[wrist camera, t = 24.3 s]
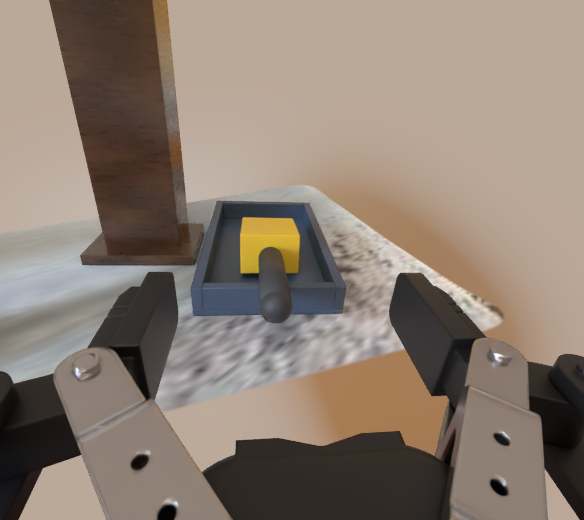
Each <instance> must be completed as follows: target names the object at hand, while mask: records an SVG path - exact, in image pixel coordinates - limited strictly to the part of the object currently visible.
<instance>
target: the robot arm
mask: <svg viewBox="0 0 584 520" xmlns="http://www.w3.org/2000/svg"><path fill="white" fill-rule="evenodd" d="M389 316H390V321H391V324H392V326H393V328H394V329H395V331H396V333H397V335H398V337H399V338H400V340H401V342H402V344H403V346H404V347H405V349H406V351H407V353H408V355H409V356H410V358H411V360H412V362H413V364H414V365H415V367H416V369H417V371H418V373H419V374H420V376H421V378H422V380H423V382H424V383H425V385H426V387H427V389H428V390H429V393H430V394H431V396H446V395H447V397H448V399H449V402H448V404H447V407H446V410H445V415H444V419H443V423H442V427H441V431H440V436H439V440H438V444H437V448H436V453H435V456H433V455H431V454H429V453H427V452H425V451H422V450H420V449H417V448H414V447H411V446H406V445H405V443H404V440H403V438H402V435H401V433H400V431H394V432H378V433H377V432H376V433H361V434H358V435H355V436H352V437H349V438H346V439H343V440H340V441H337V442H335V443H332V444H329V445H326V446H316V445H311V444H306V443H301V442H296V441H290V440H285V439H280V438H273V439H254V440H237V441H236V453H235V455H233V456H230V457H227V458H225V459H223V460H221V461H219V462H217V463H215V464H213V465H212V466H210V467H208V468H207V469H206V470H204V471H203V472H202V473H201V471H200V470H199V468H198V467H197V465H196V463H195V462H194V460H193V459H192V457H191V456H190V454H189V453H188V451H187V450H186V448H185V447H184V445H183V444H182V442H181V441H180V439H179V438H178V436H177V434H176V433H175V431H174V430H173V428H172V427H171V425H170V424H169V422H168V421H167V419H166V418H165V416H164V415H163V413H162V411H161V410H160V408H159V407H158V405H157V404H156V402H155V401H154V400H155V397H156V394H157V390H158V387H159V384H160V380H161V377H162V374H163V371H164V367H165V364H166V361H167V357H168V354H169V351H170V348H171V344H172V341H173V338H174V335H175V331H176V328H177V323H178V306H177V298H176V290H175V282H174V276H173V273H172V272H148V273H147V275H146V277H145V279H144V281H143V282H142V284H141V286H140V287H130V288H129V289H128V290H126V291H125V292H124V293H122V294H121V295H120V296H119V297H118V299H117V300H116V302H115V304H114V305H113V309H111V310H110V312H109V313H108V315H107V318H105V320H104V322H103V323H102V325H101V327H100V328H99V330H98V331H97V333H96V335H95V336H94V338H93V340H92V341H91V343H90V345H89V346H88V348H87V349H84V350H81V351H78V352H76V353H74V354H72V355H70V356H69V357H67V358H66V359H65V360H63V361H62V362H61V363H60V364H59V365H58V366H57V368H56V370H55V371H54V373H53V374H50V375H47V376H43V377H39V378H35V379H31V380H27V381H23V382H19V383H15V384H14V383H13V381H12V379H11V377H10V376H9V374H7V373H5V372H2V371H0V520H18V519H19V517H20V515H21V513H22V511H23V509H24V507H25V504H26V502H27V500H28V498H29V496H30V494H31V492H32V490H33V488H34V486H35V484H36V481H37V479H38V477H39V475H40V473H41V471H42V469H43V468H44V467H47V466H50V465H53V464H56V463H59V462H62V461H65V460H68V459H70V458H74V457H76V456H79V455H82V457H83V460H84V463H85V465H86V468H87V470H88V473H89V476H90V478H91V481H92V483H93V486H94V488H95V491H96V494H97V496H98V499H99V501H100V504H101V507H102V509H103V512H104V514H105V517H106V520H548V515H547V500H546V484H545V472H544V471H545V470H544V468H545V469H546V471H547V472H548V474H549V475H550V477H551V478H552V480H553V481H554V483H555V484H556V485H557V487H558V488H559V490H560V491H561V493H562V494H563V496H564V497H565V498H566V500H567V502H568V503H569V504H570V506H571V507H572V509H573V510H574V512H575V513H576V515H577V516H578V518H579V519H580V520H584V357H582V356H578V355H573V354H564V355H561V356H559V357H558V359H557V360H556V362H555V364H554V365H553V366H547V365H543V364H538V363H533V362H528V361H527V360H526V358H525V357H524V356H523V355H522V353H520V352H519V351H518V350H517V349H515V348H514V347H512V346H511V345H509V344H507V343H505V342H503V341H500V340H497V339H492V338H487V337H486V336H485V335H484V334H483V333H482V332H481V331H480V329H479V328H478V327H477V326H476V325H475V324H474V323H473V322H472V320H471V319H470V318H469V317H468V316H467V315H466V314H465V313H463V310H462V309H461V308H460V307H459V306H458V305H456V302H455V301H454V300H453V299H452V298H451V297H450V296H449V295H448V294H447V293H446V292H444V291H442V290H441V289H439V288H438V287H436V286H433V285H432V284H431V283H430V282H429V280H428V279H427V278H426V277H425V276H424V275H423V274H422V273H400V274H399V275H398V277H397V280H396V284H395V288H394V292H393V296H392V300H391V304H390V309H389Z"/></svg>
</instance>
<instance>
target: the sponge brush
mask: <svg viewBox="0 0 584 520" xmlns="http://www.w3.org/2000/svg"><path fill="white" fill-rule="evenodd" d="M299 248H300V234H299V232H298V230H297V227H296V225H295V223H294V220H293V218H251V217H243V219H242V226H241V233H240V270H241V273H259V309H260V312H261V315H262V316H263V317H264V319H266V320H267V321H269V322H271V323H281V322H283V321H285V320H286V319H288V317H289V316H290V315H291V312H292V309H293V303H292V298H291V294H290V289H289V284H288V280H287V275H286V273H298V265H299Z"/></svg>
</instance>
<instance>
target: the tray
mask: <svg viewBox="0 0 584 520" xmlns="http://www.w3.org/2000/svg"><path fill="white" fill-rule="evenodd" d="M243 217H251V218H293V220H294V223H295V225H296V227H297V230H298V232H299V234H300V248H299V265H298V273H286V275H287V280H288V284H289V289H290V294H291V298H292V303H293V309H292V312H291V314H330V313H342V310H343V304H344V298H345V292H346V286H345V284H344V281H343V279H342V277H341V275H340V272H339V270H338V268H337V265H336V263H335V261H334V258H333V256H332V254H331V252H330V249H329V247H328V245H327V242H326V240H325V238H324V235H323V233H322V231H321V229H320V226H319V224H318V222H317V219H316V217H315V215H314V213H313V210H312V208H311V206H310V203H290V202H248V201H217V202H216V206H215V209H214V212H213V216H212V219H211V222H210V226H209V229H208V232H207V236H206V239H205V242H204V246H203V249H202V252H201V256H200V259H199V263H198V266H197V269H196V273H195V276H194V279H193V283H192V286H191V297H192V306H193V315H194V316H198V315H261V312H260V309H259V273H241V270H240V233H241V226H242V219H243Z"/></svg>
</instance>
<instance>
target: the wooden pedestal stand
mask: <svg viewBox="0 0 584 520" xmlns="http://www.w3.org/2000/svg"><path fill="white" fill-rule="evenodd" d="M49 1H50V6H51V10H52V14H53V19H54V23H55V27H56V31H57V36H58V40H59V45H60V49H61V53H62V58H63V62H64V66H65V71H66V75H67V79H68V83H69V88H70V92H71V97H72V101H73V105H74V110H75V114H76V118H77V123H78V127H79V131H80V135H81V140H82V144H83V148H84V152H85V157H86V162H87V166H88V170H89V175H90V179H91V183H92V187H93V192H94V196H95V201H96V205H97V209H98V214H99V218H100V222H101V227H102V231H103V232H102V233H101V234H100V236H99V237H98V238H97V239H96V240H95V241H94V242H93V243H92V244H91V245H90V246H89V247H88V248H87V249H86V250H85V251H84V252H83V253H82V254H81V255H80V257H81V261H82V265H193V264H194V261H195V258H196V255H197V252H198V249H199V246H200V242H201V239H202V236H203V233H204V224H190V223H188V215H187V204H186V194H185V184H184V173H183V163H182V153H181V142H180V132H179V122H178V112H177V101H176V91H175V80H174V70H173V59H172V49H171V39H170V30H169V29H170V28H169V18H168V8H167V0H49Z"/></svg>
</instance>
